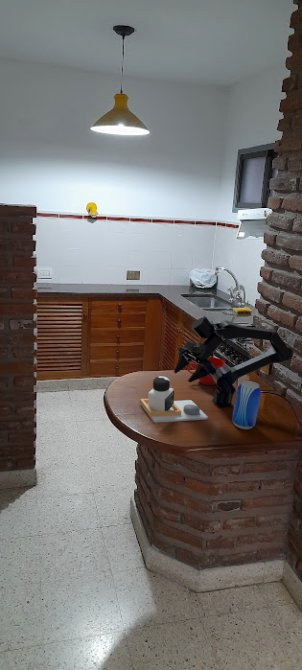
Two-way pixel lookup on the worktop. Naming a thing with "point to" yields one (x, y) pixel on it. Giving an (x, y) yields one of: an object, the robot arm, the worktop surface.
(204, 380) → the ceramic cup
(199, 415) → the plate with orange frame
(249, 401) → the beer can
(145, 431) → the worktop surface
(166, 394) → the medicine bottle
